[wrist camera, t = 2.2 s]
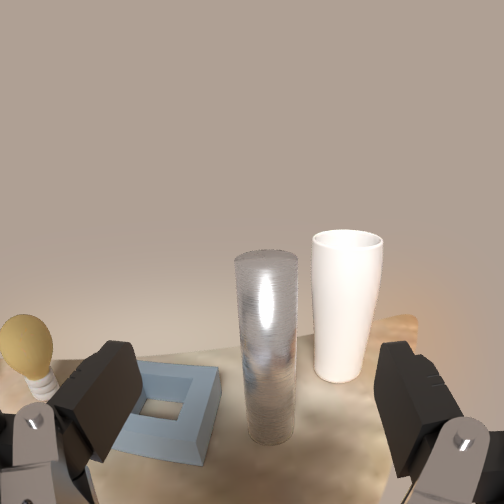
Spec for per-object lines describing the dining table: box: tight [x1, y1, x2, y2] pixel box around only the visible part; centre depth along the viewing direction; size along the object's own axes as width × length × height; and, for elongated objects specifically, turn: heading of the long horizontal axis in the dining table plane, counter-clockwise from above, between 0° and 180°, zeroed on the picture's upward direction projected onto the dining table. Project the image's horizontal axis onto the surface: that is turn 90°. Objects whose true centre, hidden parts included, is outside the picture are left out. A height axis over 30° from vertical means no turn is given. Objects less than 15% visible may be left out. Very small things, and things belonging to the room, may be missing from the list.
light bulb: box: [0, 314, 60, 401], centre depth 26 cm, size 6×6×10 cm
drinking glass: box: [311, 230, 383, 383], centre depth 30 cm, size 7×7×15 cm
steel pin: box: [235, 250, 298, 445], centre depth 22 cm, size 4×4×16 cm
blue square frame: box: [111, 360, 222, 466], centre depth 25 cm, size 10×10×4 cm
